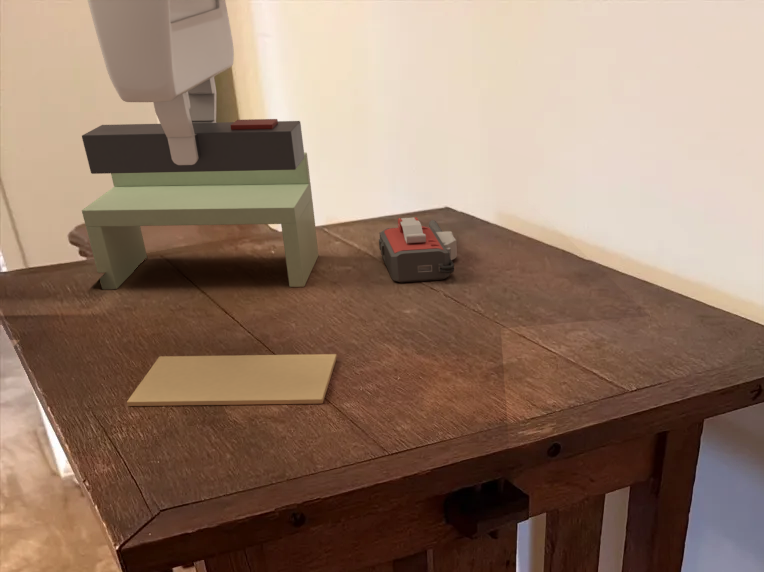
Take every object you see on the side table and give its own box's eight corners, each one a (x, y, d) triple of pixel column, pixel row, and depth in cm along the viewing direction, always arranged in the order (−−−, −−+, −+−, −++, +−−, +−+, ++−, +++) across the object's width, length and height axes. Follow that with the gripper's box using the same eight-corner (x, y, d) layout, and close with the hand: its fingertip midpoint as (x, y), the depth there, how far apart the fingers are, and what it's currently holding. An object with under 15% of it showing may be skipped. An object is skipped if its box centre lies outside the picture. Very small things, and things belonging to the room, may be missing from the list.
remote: (90, 173, 67) (79, 130, 65) (110, 161, 70) (100, 120, 68) (295, 169, 66) (290, 126, 65) (304, 157, 70) (299, 116, 68)
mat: (127, 406, 75) (126, 401, 74) (160, 360, 83) (159, 356, 82) (322, 403, 75) (322, 399, 74) (337, 358, 83) (336, 353, 82)
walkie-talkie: (472, 281, 100) (441, 234, 115) (471, 238, 97) (439, 196, 113) (392, 287, 99) (371, 238, 114) (390, 244, 96) (368, 200, 111)
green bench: (102, 289, 99) (73, 178, 92) (134, 257, 109) (110, 154, 102) (304, 286, 99) (290, 175, 92) (318, 255, 109) (307, 152, 102)
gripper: (149, -80, 68) (189, 131, 76) (48, -83, 51) (113, 186, 60) (234, -82, 68) (264, 130, 76) (160, -85, 51) (209, 184, 60)
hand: (197, 155), depth 68 cm, fingers closed on remote, 4 cm apart
